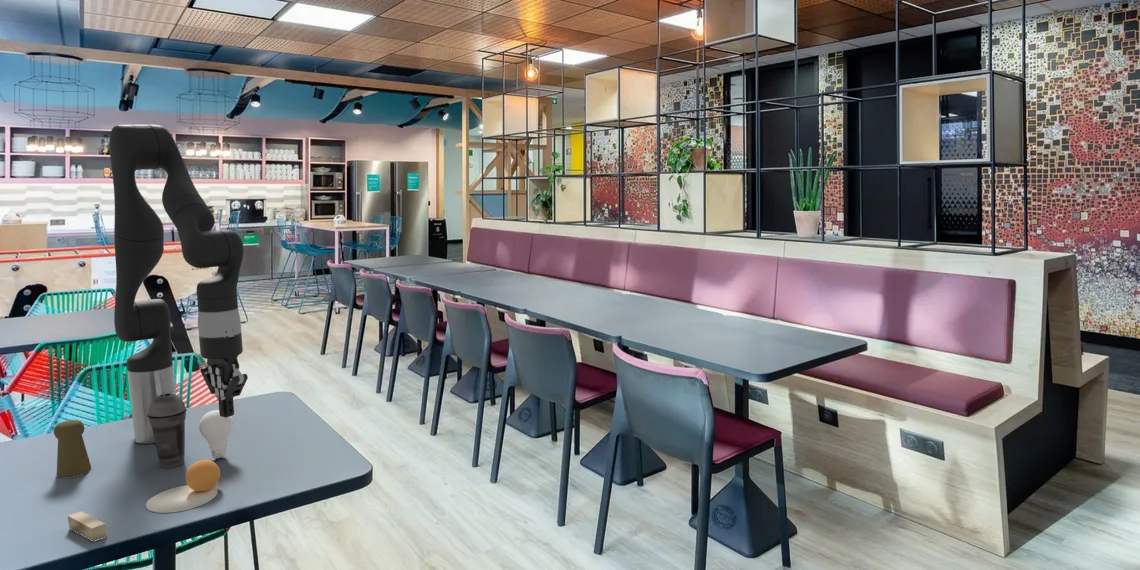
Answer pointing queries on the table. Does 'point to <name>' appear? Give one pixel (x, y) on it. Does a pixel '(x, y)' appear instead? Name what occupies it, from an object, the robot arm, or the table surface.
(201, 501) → the plate
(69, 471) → the cork
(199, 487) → the ball
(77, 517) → the rail
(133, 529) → the table surface
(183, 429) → the beverage cup
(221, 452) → the light bulb
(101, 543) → the table surface
